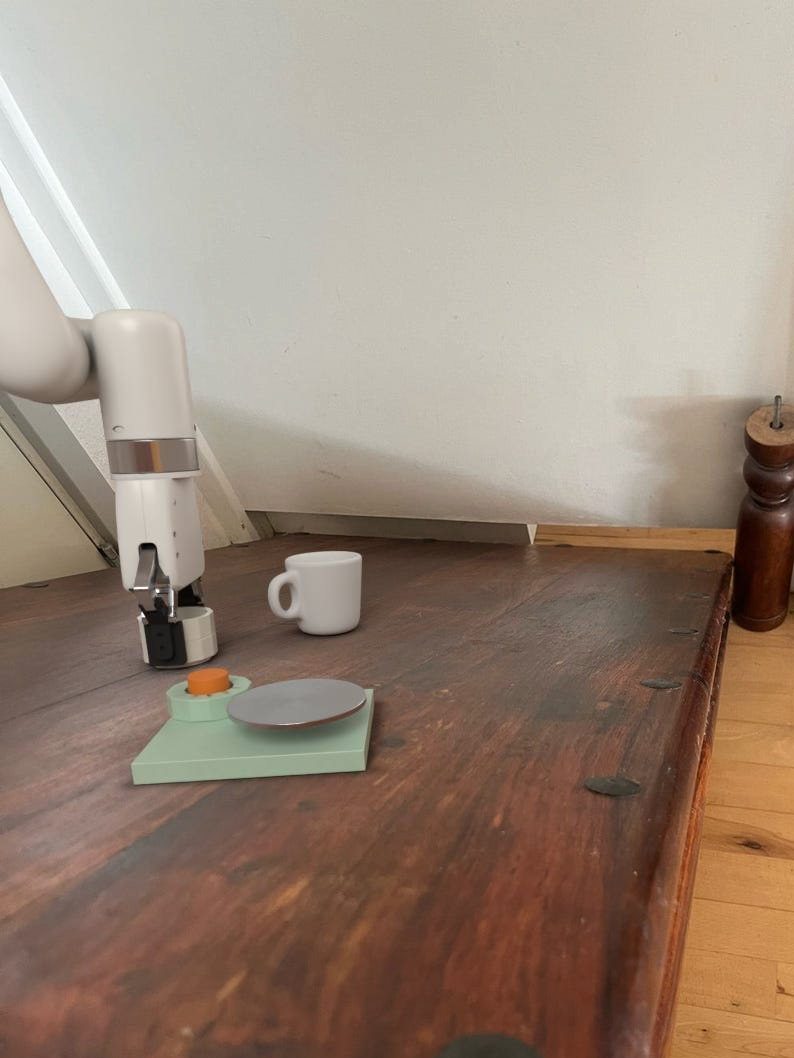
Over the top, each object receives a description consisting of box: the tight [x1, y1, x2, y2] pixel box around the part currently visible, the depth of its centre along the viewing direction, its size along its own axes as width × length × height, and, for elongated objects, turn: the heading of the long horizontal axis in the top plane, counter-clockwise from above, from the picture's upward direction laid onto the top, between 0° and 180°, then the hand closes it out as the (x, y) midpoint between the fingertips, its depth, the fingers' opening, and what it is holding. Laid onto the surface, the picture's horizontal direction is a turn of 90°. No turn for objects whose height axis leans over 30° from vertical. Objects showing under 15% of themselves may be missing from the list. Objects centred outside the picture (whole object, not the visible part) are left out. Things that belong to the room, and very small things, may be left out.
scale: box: [130, 674, 375, 786], centre depth 53 cm, size 14×12×3 cm
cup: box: [267, 550, 363, 636], centre depth 81 cm, size 11×8×8 cm
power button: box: [186, 668, 230, 695], centre depth 55 cm, size 3×3×1 cm
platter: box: [227, 678, 366, 730], centre depth 51 cm, size 9×9×1 cm
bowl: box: [136, 606, 219, 669], centre depth 73 cm, size 7×7×4 cm
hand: (180, 652), depth 73 cm, fingers closed on bowl, 6 cm apart
